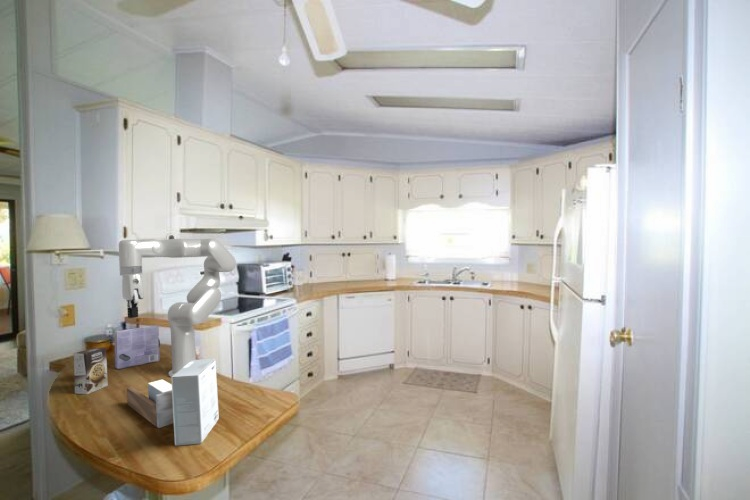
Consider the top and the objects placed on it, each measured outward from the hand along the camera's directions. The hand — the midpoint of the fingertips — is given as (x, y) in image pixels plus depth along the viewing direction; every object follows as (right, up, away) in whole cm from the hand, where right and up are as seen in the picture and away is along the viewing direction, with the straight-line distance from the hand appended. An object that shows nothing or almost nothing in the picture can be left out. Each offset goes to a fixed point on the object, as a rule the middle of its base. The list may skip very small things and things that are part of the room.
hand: (133, 317), depth 151 cm
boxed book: (+25, -29, -23) cm, 45 cm away
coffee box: (-18, -30, +3) cm, 35 cm away
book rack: (+20, -29, -19) cm, 40 cm away
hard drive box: (+42, -29, -36) cm, 62 cm away
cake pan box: (-20, -30, +36) cm, 51 cm away
